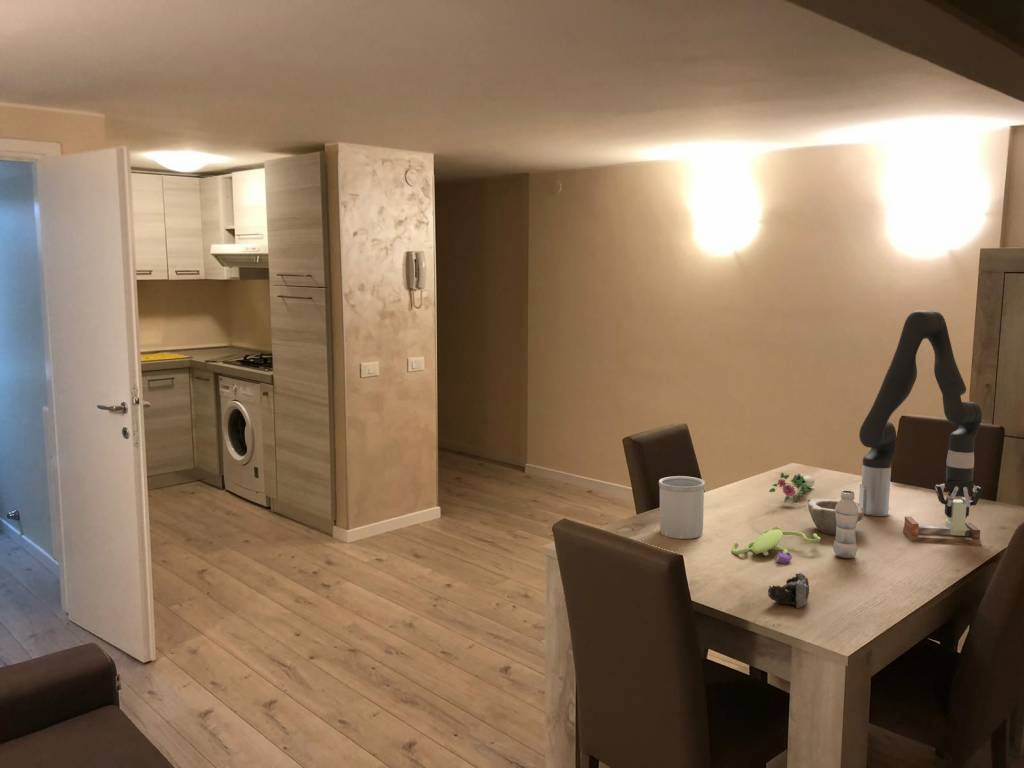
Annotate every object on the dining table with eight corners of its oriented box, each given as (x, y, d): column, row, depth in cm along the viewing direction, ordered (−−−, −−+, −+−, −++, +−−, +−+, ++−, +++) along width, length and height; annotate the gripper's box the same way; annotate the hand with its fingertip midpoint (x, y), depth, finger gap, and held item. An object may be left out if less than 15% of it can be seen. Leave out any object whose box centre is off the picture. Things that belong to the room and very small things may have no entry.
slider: (952, 535, 254) (954, 504, 253) (944, 529, 261) (947, 498, 260) (966, 536, 254) (968, 504, 252) (958, 529, 260) (960, 498, 259)
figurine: (827, 550, 249) (828, 532, 248) (778, 570, 232) (779, 551, 231) (774, 535, 263) (775, 519, 262) (725, 553, 246) (725, 535, 245)
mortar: (859, 526, 271) (860, 499, 270) (863, 541, 256) (865, 513, 254) (806, 521, 277) (807, 495, 276) (807, 536, 261) (808, 508, 260)
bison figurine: (807, 595, 213) (767, 589, 216) (810, 570, 212) (770, 564, 215) (808, 613, 202) (766, 606, 205) (811, 587, 201) (768, 580, 204)
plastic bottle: (846, 562, 237) (849, 496, 234) (827, 555, 243) (831, 490, 240) (861, 558, 240) (865, 493, 237) (842, 551, 246) (846, 488, 243)
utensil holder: (649, 533, 265) (650, 481, 262) (673, 523, 275) (674, 473, 273) (688, 543, 255) (689, 489, 252) (712, 532, 265) (713, 480, 263)
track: (911, 541, 255) (912, 524, 255) (902, 531, 265) (903, 515, 264) (980, 545, 252) (981, 528, 251) (968, 535, 261) (970, 518, 261)
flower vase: (814, 507, 319) (796, 510, 289) (784, 494, 326) (764, 495, 296) (826, 480, 318) (809, 480, 288) (796, 468, 324) (777, 466, 294)
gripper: (939, 466, 252) (936, 519, 254) (989, 468, 249) (985, 521, 252) (932, 461, 259) (928, 512, 262) (980, 462, 257) (976, 515, 259)
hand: (956, 516), depth 257 cm, fingers open, 4 cm apart
